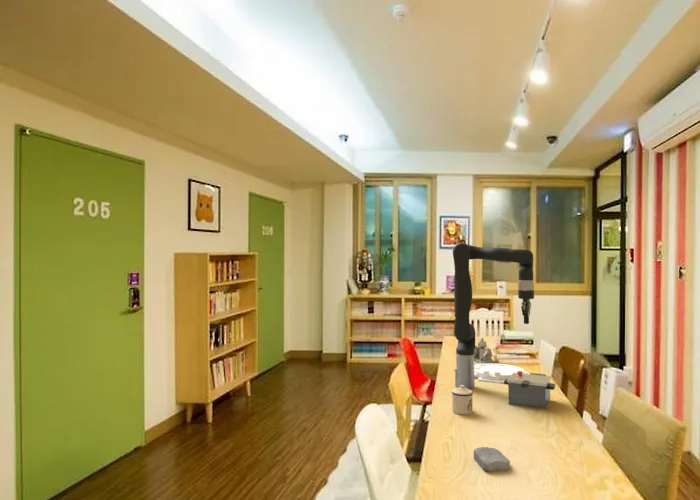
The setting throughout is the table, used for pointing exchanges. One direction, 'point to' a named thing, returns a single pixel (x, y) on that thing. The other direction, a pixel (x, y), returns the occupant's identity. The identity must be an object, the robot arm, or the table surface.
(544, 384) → the pot lid
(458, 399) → the teacup with lid
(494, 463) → the stone block
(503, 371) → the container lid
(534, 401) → the charcoal pot
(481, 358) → the stone figurine sculpture
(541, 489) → the table surface
